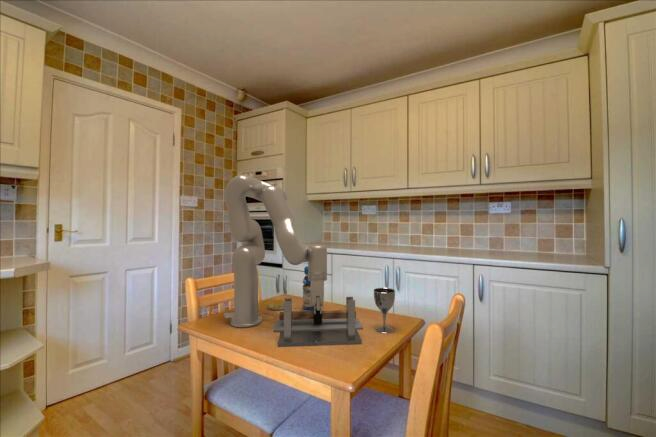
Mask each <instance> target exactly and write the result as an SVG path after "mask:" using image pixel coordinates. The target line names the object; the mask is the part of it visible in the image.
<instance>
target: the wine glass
mask: <svg viewBox="0 0 656 437" xmlns="http://www.w3.org/2000/svg"><path fill="white" fill-rule="evenodd" d="M395 296H396V291H395V289H393V288H388V287H378V288H377V287H376V288H373V300H374V304H375V306H376V307H377V309H378V310H379V311H380V312H381V314H382V321H383V324H382V325H381V326H377V327H375V329H374V330H375V332H378V333H381V334H391V333H393V332H395V329H394V328H393V327H390V326H387V324H386V320H387V319H386V318H387V314H388V312H389V311H390V310H391V309H392V308H393V306H394V304H395V299H396V297H395Z"/></svg>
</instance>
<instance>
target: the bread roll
mask: <svg viewBox="0 0 656 437" xmlns="http://www.w3.org/2000/svg"><path fill="white" fill-rule="evenodd" d="M284 302H285V300H282V299H272V300H270V301H269V302H267V309H269V311H284Z"/></svg>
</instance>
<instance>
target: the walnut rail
mask: <svg viewBox="0 0 656 437" xmlns="http://www.w3.org/2000/svg"><path fill="white" fill-rule="evenodd" d="M321 314H322V319H346V309H341V310H340V309H339V310H321ZM278 316H279V317H278V318H279V320H278V321H280V320H284V311H279V315H278ZM355 318H357V311H356V310H355ZM313 319H314V311H304V310H303V311H302V310H299V311H298V310H296V311H292V320H313Z"/></svg>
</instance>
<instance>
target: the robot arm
mask: <svg viewBox="0 0 656 437" xmlns="http://www.w3.org/2000/svg"><path fill="white" fill-rule="evenodd" d="M286 193H287V192H286V191H285V190H284V189H283V188H281V187H279V186H276V185H273V184H270V183H267V182H266V181H263V180H260V179H257V178H256V177H253V176H251V175H247V174H239V175H236V176H233V177H232V178H231V179H230V180H229V182H227V184H226V187H225V189H224V200H225V206H226V211H227V218H228V222H229V229H230V235H231V238H232V239H233V241H236V242H238V243H242V245H240V246H238V247H237V248H236V249H235V250H234V252H233V253H232V257H231V263H232V269H233V283H234V284H233V293H234V295H233V298H234V299H233V300H234V301H233V302H234V303H233V305H234V306H233V310H234V311H231V312H223V318H225V320H228V319H230V321H229V322H230V325H231V326H232V327H235V328H251V327H255V326H258V325H260V324H261V323H262V322H263V317H262V316H261V315H259V274H258V268H257V265H260V264H261V263H262V262H263V261H264V259H265V257H266V250H265V249H266V248H265V242H264V236H263V231H262V228H261V226H260V224H259V222H257V221H256V220H255V219H253V218H251V215H250V209H249V204H248V203H247V199H246V197H248V198H252V199H255V200H256V201H259V202H262V203H263V205H264V208H265V210H266V212H267V214H268V216H269V218H270V221H271V223H272V225H273V228H274V233H275V238H276V241H277V243H278V246H279V248H280V250H281V252H282V255H283V257H284V259H285V260H286V262H288V263H289V264H290V265H293V266H298V265H300V264H302V263H305V262H307V266H308V280H309V281H311V285H310V302H311V307H312V306H314V319H312V320H314V324H322V314H321V311H322V307H324V300H325V281H328V248H327V245H323V244H312V245H311V244H306V243H305V244H304V243H300V242H299V240H298V238H297V235H296V233H295V228H294V221H295V219H294V216H293V214H292V212H291V210H290V207H289V205H288V203H287V194H286Z"/></svg>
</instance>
